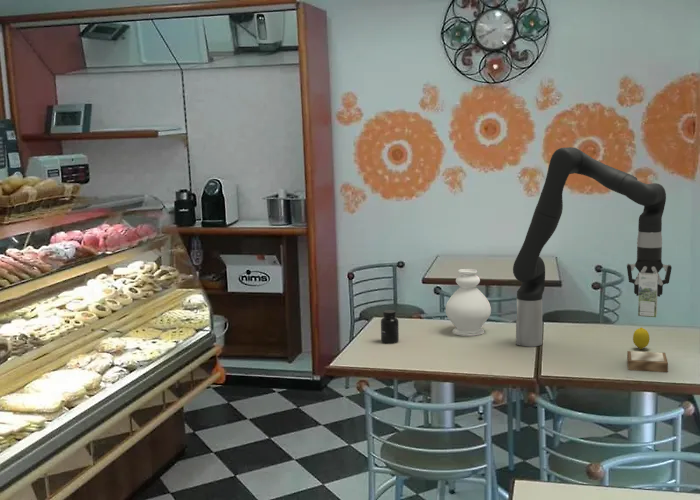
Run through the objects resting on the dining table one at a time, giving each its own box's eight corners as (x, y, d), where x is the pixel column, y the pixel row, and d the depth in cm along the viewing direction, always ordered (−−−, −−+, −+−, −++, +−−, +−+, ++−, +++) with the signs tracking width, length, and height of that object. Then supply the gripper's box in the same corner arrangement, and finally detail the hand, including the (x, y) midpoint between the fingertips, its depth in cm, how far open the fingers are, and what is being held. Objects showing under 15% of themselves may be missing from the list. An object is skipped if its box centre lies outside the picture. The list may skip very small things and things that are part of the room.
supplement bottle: (378, 343, 296) (377, 312, 294) (384, 338, 302) (383, 308, 300) (395, 344, 293) (394, 313, 292) (401, 340, 300) (400, 309, 298)
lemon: (650, 351, 273) (651, 329, 272) (634, 351, 274) (634, 329, 273) (647, 347, 278) (648, 325, 277) (631, 347, 279) (632, 325, 278)
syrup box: (657, 313, 256) (658, 270, 254) (656, 317, 251) (657, 273, 248) (639, 312, 258) (640, 270, 256) (637, 316, 253) (638, 273, 251)
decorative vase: (446, 326, 318) (445, 266, 314) (490, 326, 316) (489, 266, 312) (445, 337, 301) (444, 274, 297) (492, 337, 298) (491, 274, 294)
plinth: (628, 369, 253) (628, 360, 253) (627, 359, 264) (627, 350, 264) (667, 372, 249) (667, 362, 249) (664, 361, 261) (665, 352, 260)
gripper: (626, 246, 250) (625, 297, 252) (674, 247, 245) (672, 299, 248) (625, 243, 257) (624, 292, 259) (672, 243, 252) (670, 294, 255)
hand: (648, 295), depth 254 cm, fingers closed on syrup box, 6 cm apart
